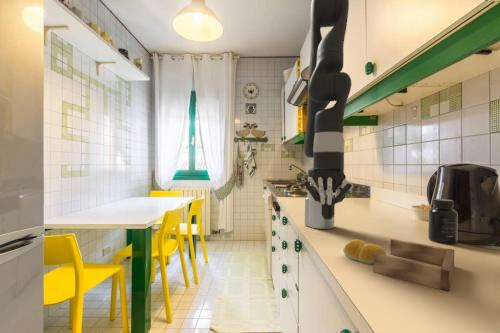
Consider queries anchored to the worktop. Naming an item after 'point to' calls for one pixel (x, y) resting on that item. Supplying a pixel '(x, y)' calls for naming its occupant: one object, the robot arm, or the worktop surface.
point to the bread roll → (362, 251)
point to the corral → (417, 264)
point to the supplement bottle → (443, 222)
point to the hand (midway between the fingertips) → (327, 218)
